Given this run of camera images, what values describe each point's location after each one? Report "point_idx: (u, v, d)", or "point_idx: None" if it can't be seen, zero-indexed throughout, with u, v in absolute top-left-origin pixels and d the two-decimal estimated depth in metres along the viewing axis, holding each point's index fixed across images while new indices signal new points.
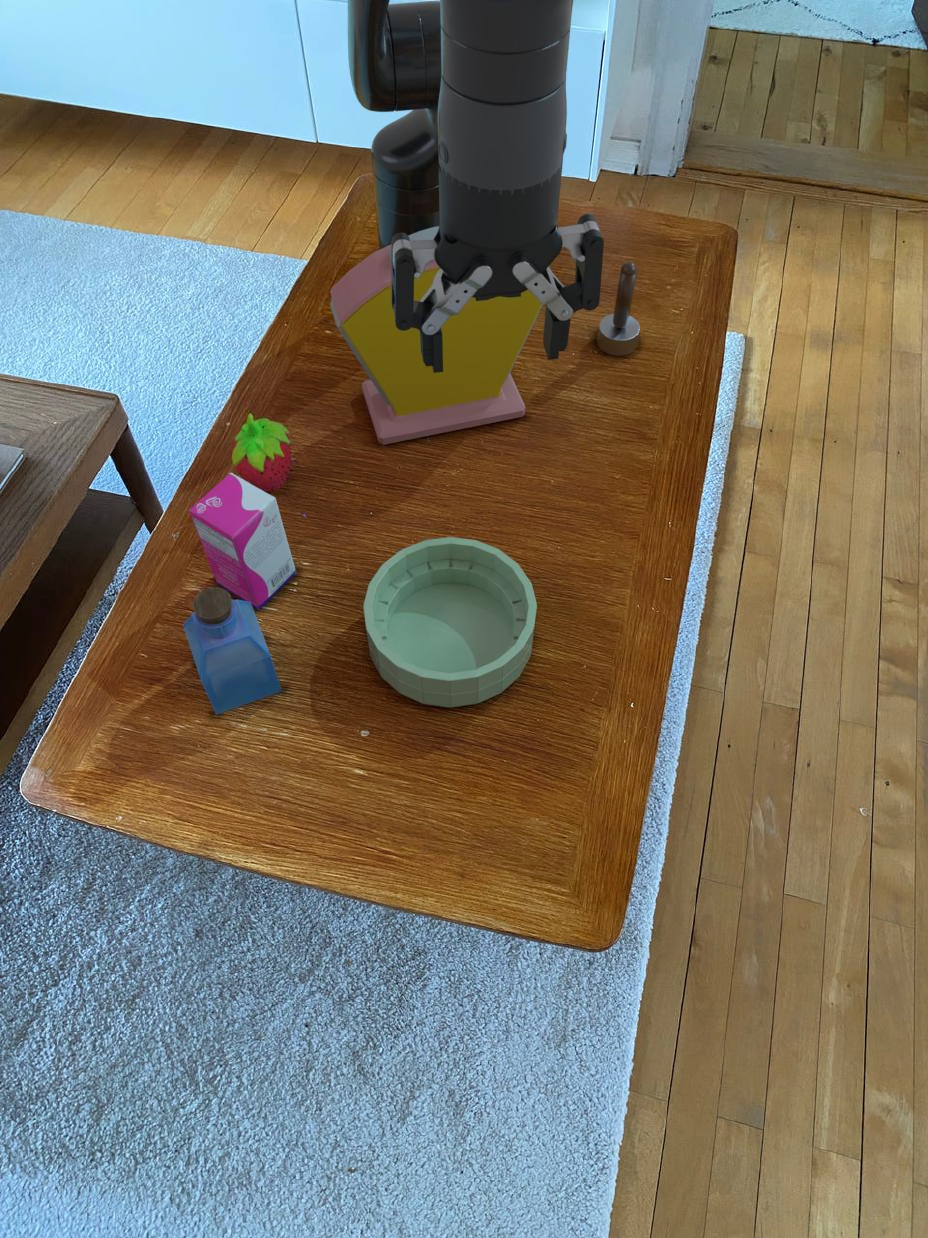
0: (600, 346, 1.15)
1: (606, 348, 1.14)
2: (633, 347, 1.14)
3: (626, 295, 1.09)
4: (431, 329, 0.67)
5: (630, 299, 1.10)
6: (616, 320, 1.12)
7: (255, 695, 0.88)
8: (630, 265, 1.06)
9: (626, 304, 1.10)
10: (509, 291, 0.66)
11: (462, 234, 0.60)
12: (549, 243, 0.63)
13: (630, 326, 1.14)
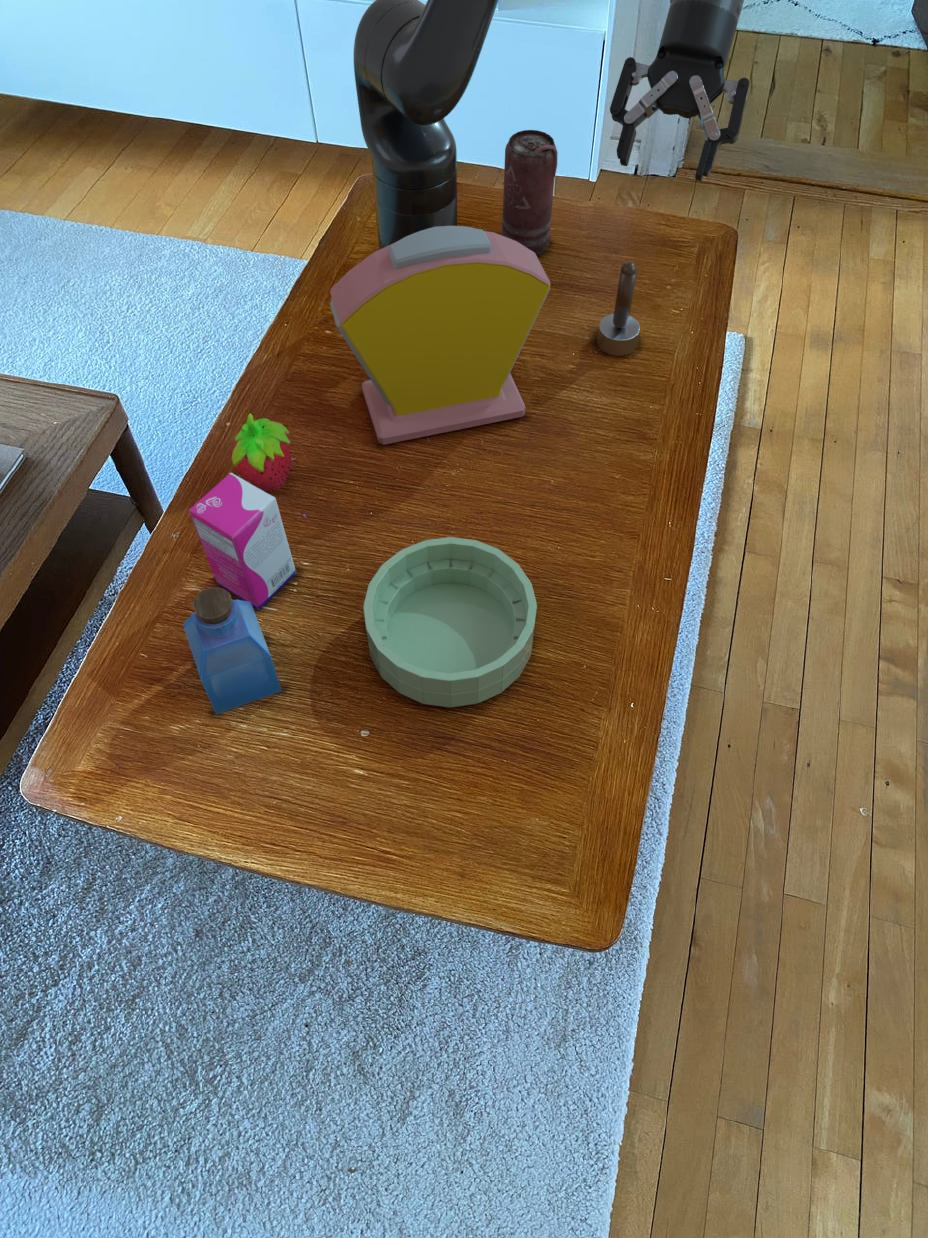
0: (600, 346, 1.15)
1: (606, 348, 1.14)
2: (633, 347, 1.14)
3: (626, 295, 1.09)
4: (629, 117, 1.07)
5: (630, 299, 1.10)
6: (616, 320, 1.12)
7: (255, 695, 0.88)
8: (630, 265, 1.06)
9: (626, 304, 1.10)
10: (684, 105, 1.05)
11: (667, 37, 1.03)
12: (716, 75, 1.04)
13: (630, 326, 1.14)
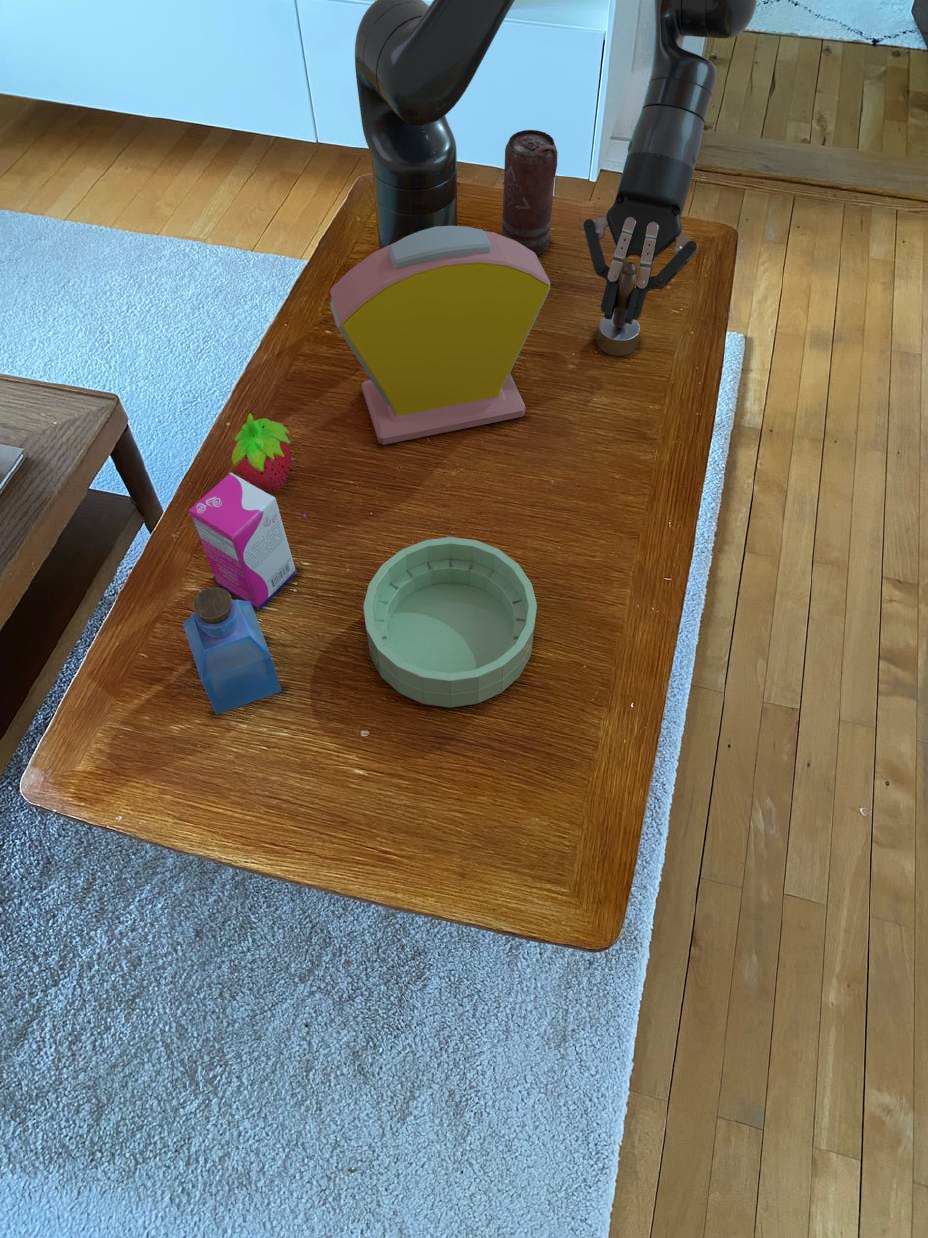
0: (600, 346, 1.15)
1: (606, 348, 1.14)
2: (633, 347, 1.14)
3: (626, 295, 1.09)
4: (613, 275, 1.09)
5: None
6: (616, 320, 1.12)
7: (255, 695, 0.88)
8: (630, 265, 1.06)
9: (626, 304, 1.10)
10: (642, 249, 1.08)
11: (625, 185, 1.06)
12: (673, 221, 1.06)
13: (630, 326, 1.14)
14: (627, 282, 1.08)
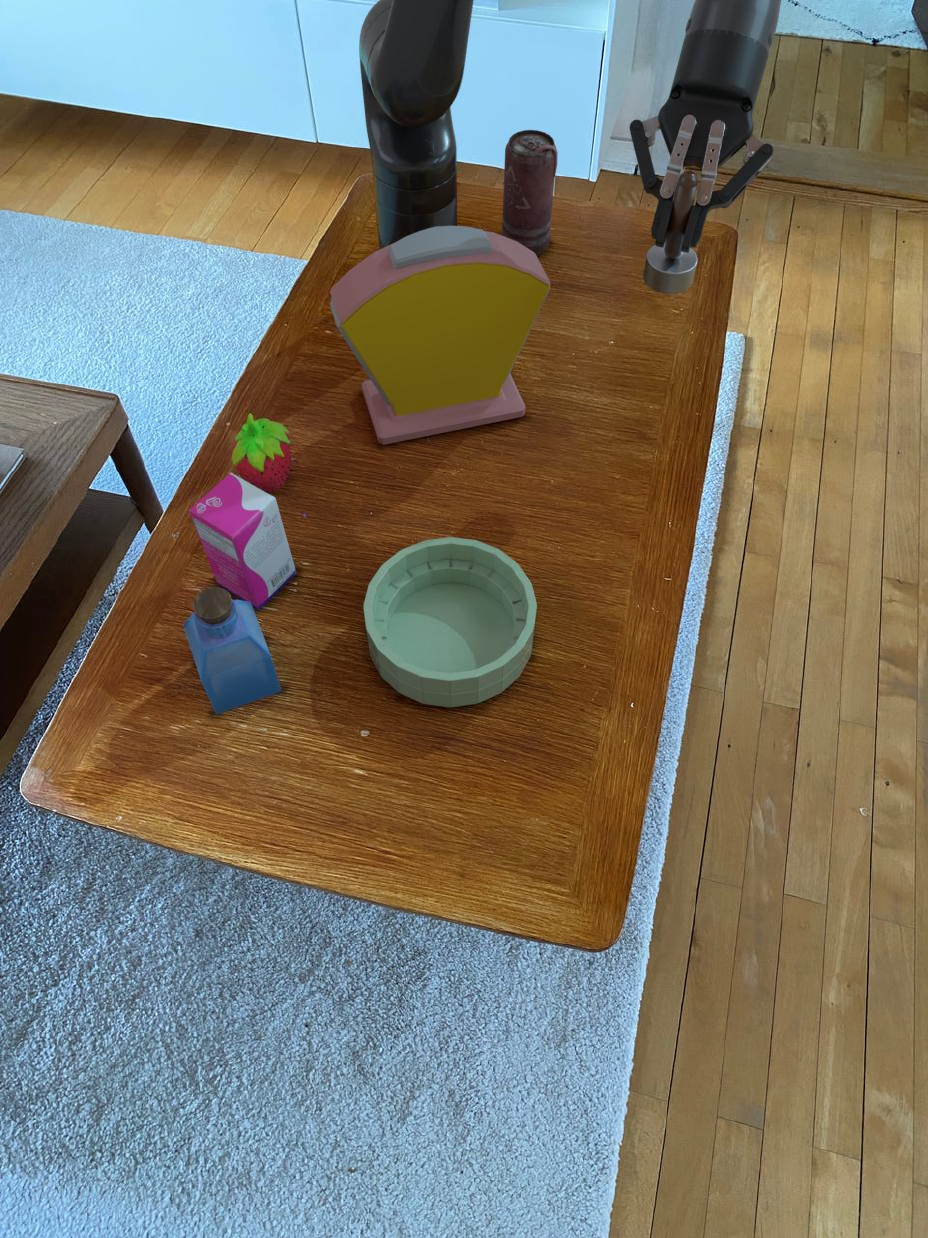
0: (648, 282, 0.93)
1: (656, 284, 0.93)
2: (689, 283, 0.93)
3: (683, 215, 0.88)
4: (667, 190, 0.87)
5: None
6: (669, 248, 0.91)
7: (255, 695, 0.88)
8: (690, 175, 0.85)
9: (682, 226, 0.89)
10: (703, 156, 0.86)
11: (683, 74, 0.84)
12: (743, 120, 0.85)
13: (685, 257, 0.92)
14: (685, 197, 0.86)
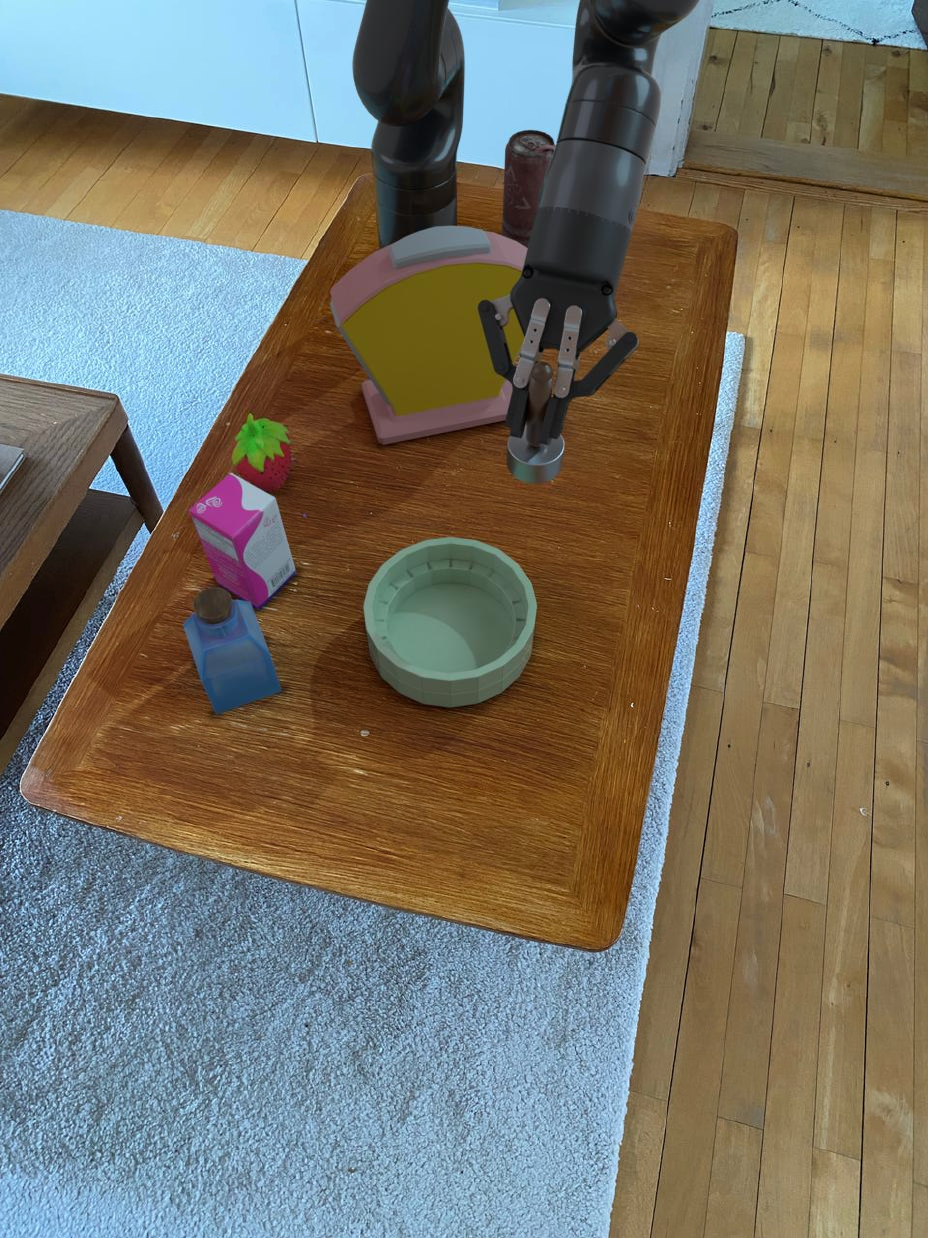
0: (510, 470, 0.83)
1: (518, 474, 0.82)
2: (556, 471, 0.82)
3: (540, 407, 0.77)
4: (520, 379, 0.76)
5: None
6: (530, 437, 0.80)
7: (255, 695, 0.88)
8: (542, 367, 0.74)
9: (541, 417, 0.78)
10: (560, 343, 0.76)
11: (533, 254, 0.73)
12: (603, 305, 0.74)
13: (551, 443, 0.82)
14: (540, 390, 0.75)
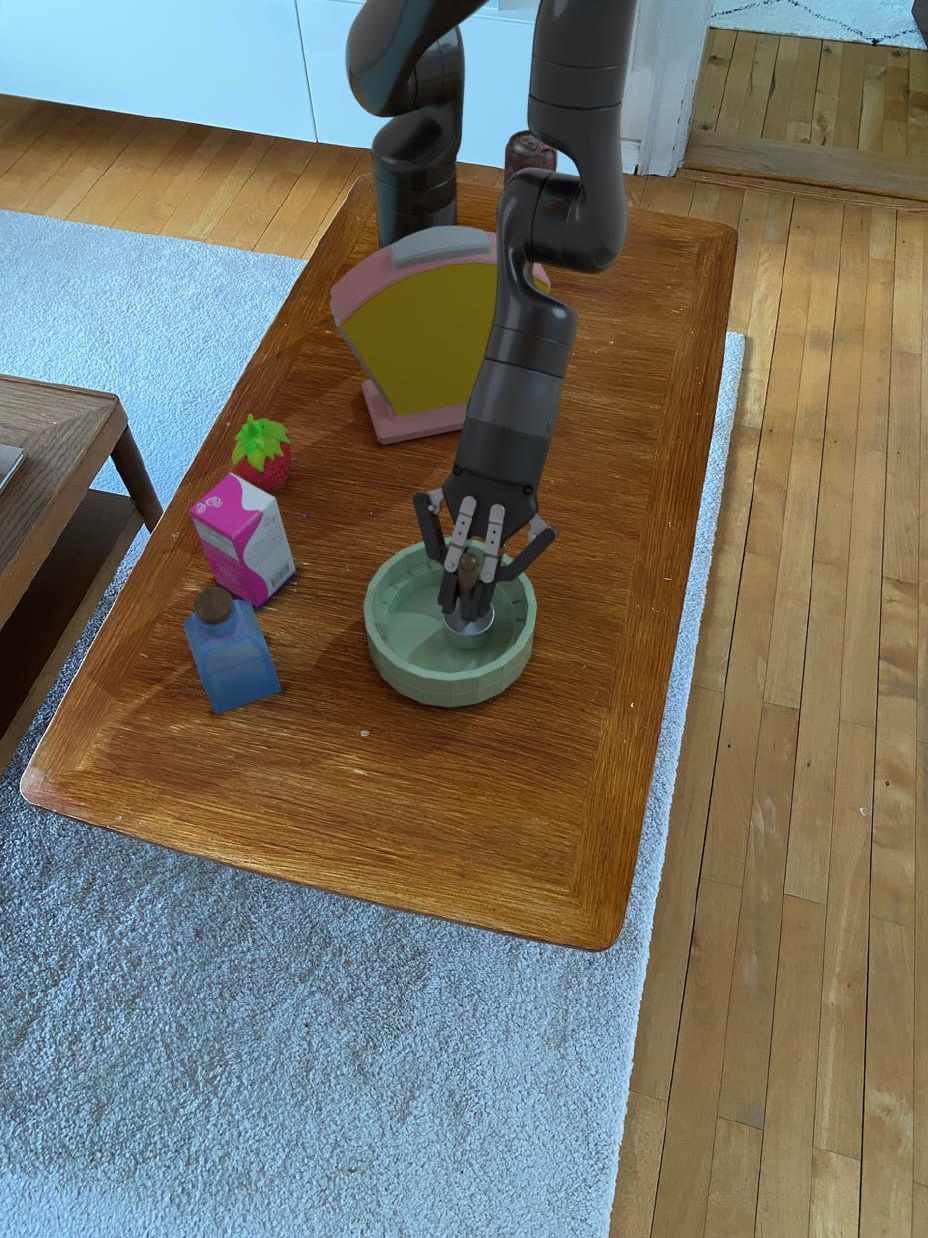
0: (445, 635, 0.90)
1: (452, 640, 0.90)
2: (486, 638, 0.90)
3: (468, 589, 0.84)
4: (450, 565, 0.84)
5: None
6: (461, 610, 0.88)
7: (255, 695, 0.88)
8: (468, 560, 0.82)
9: (470, 597, 0.85)
10: (486, 534, 0.83)
11: (461, 458, 0.81)
12: (524, 503, 0.82)
13: None
14: (467, 578, 0.83)
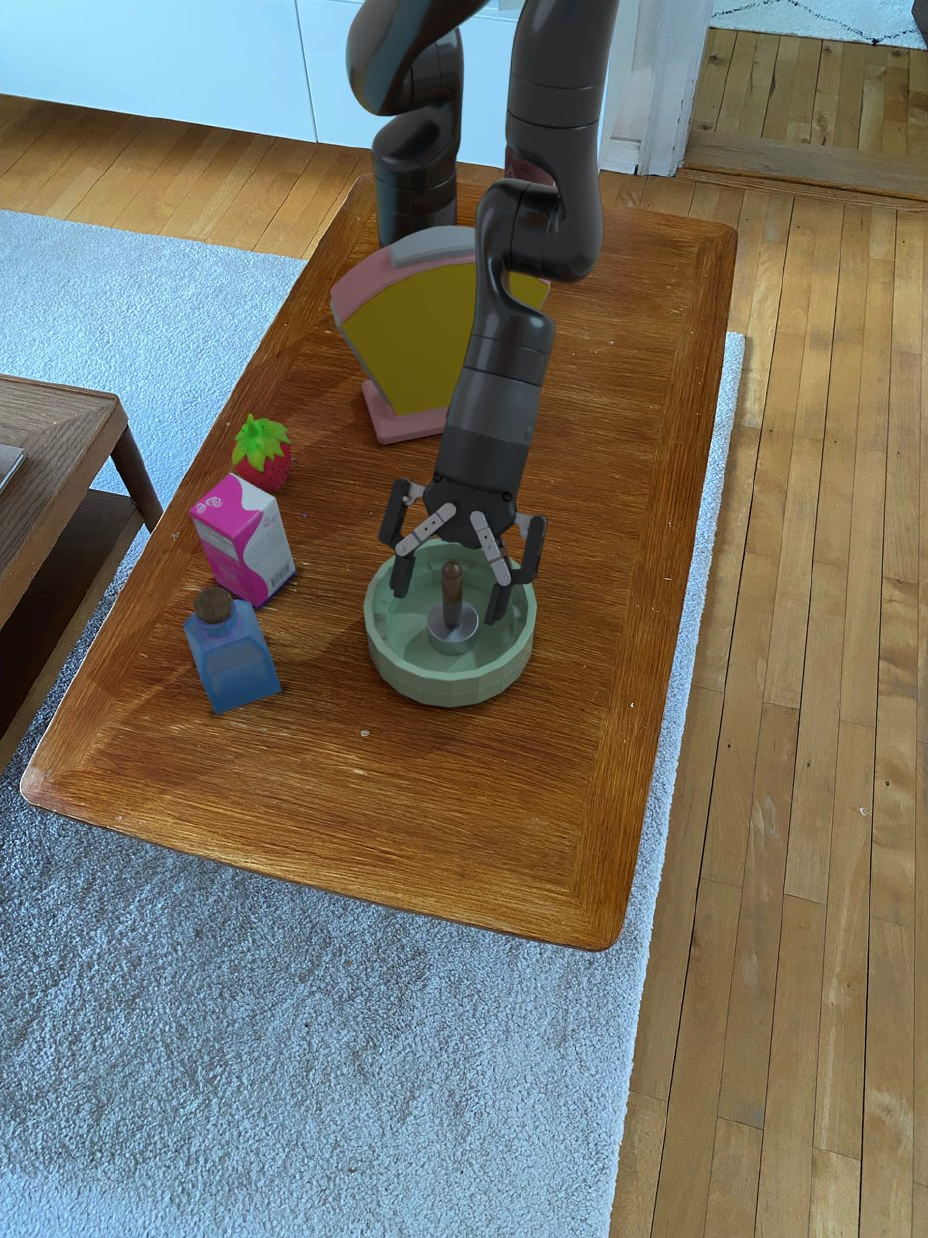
0: (430, 642, 0.91)
1: (436, 647, 0.91)
2: (471, 645, 0.91)
3: (452, 597, 0.85)
4: (401, 549, 0.85)
5: (458, 600, 0.86)
6: (446, 618, 0.89)
7: (255, 695, 0.88)
8: (452, 568, 0.83)
9: (454, 605, 0.86)
10: (466, 541, 0.84)
11: (440, 466, 0.82)
12: (504, 510, 0.83)
13: (466, 620, 0.90)
14: (450, 585, 0.84)
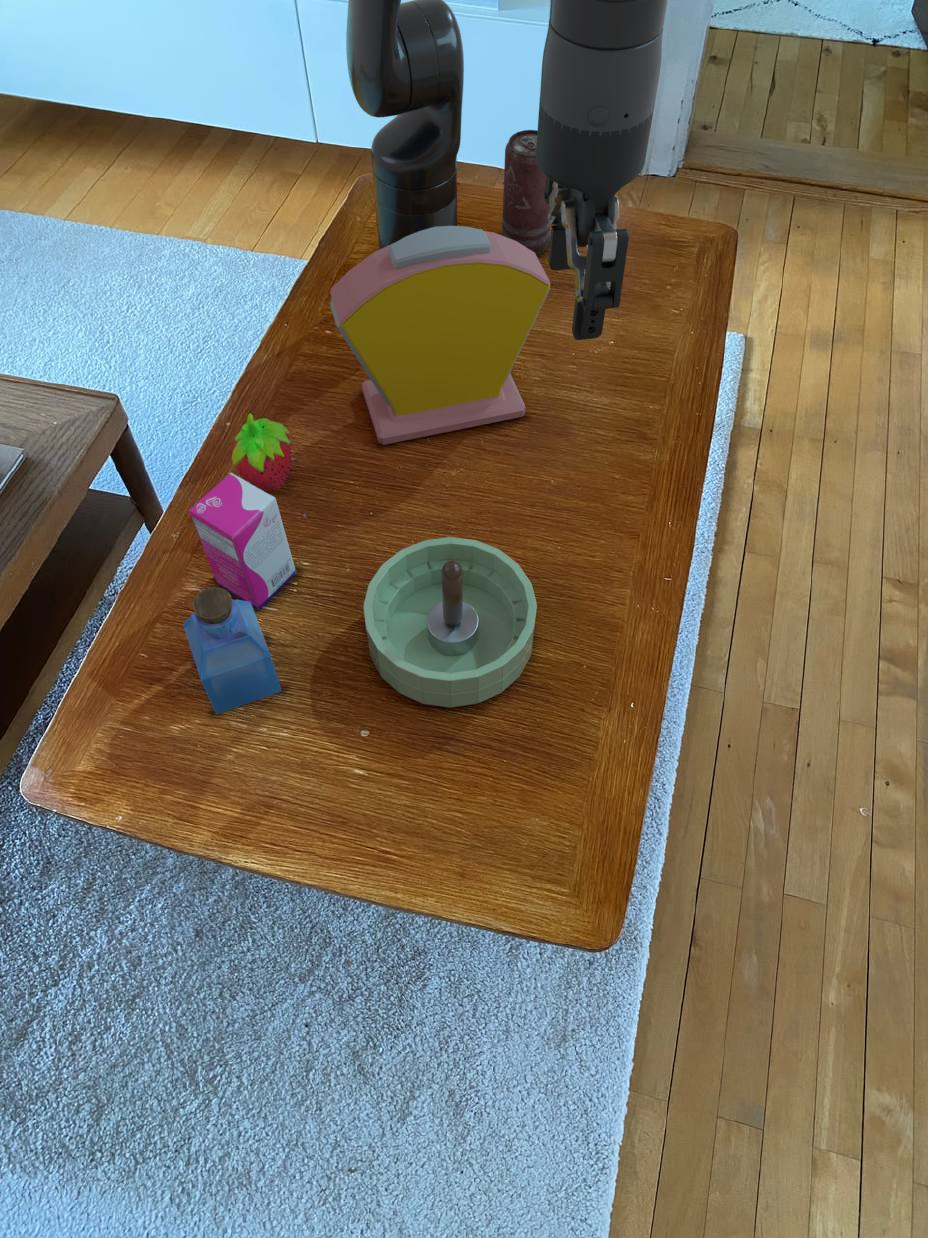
0: (430, 642, 0.91)
1: (436, 647, 0.91)
2: (471, 645, 0.91)
3: (452, 597, 0.85)
4: (548, 216, 0.76)
5: (458, 600, 0.86)
6: (446, 618, 0.89)
7: (255, 695, 0.88)
8: (452, 568, 0.83)
9: (454, 605, 0.86)
10: None
11: None
12: (582, 210, 0.67)
13: (466, 620, 0.90)
14: (450, 585, 0.84)
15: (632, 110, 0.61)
